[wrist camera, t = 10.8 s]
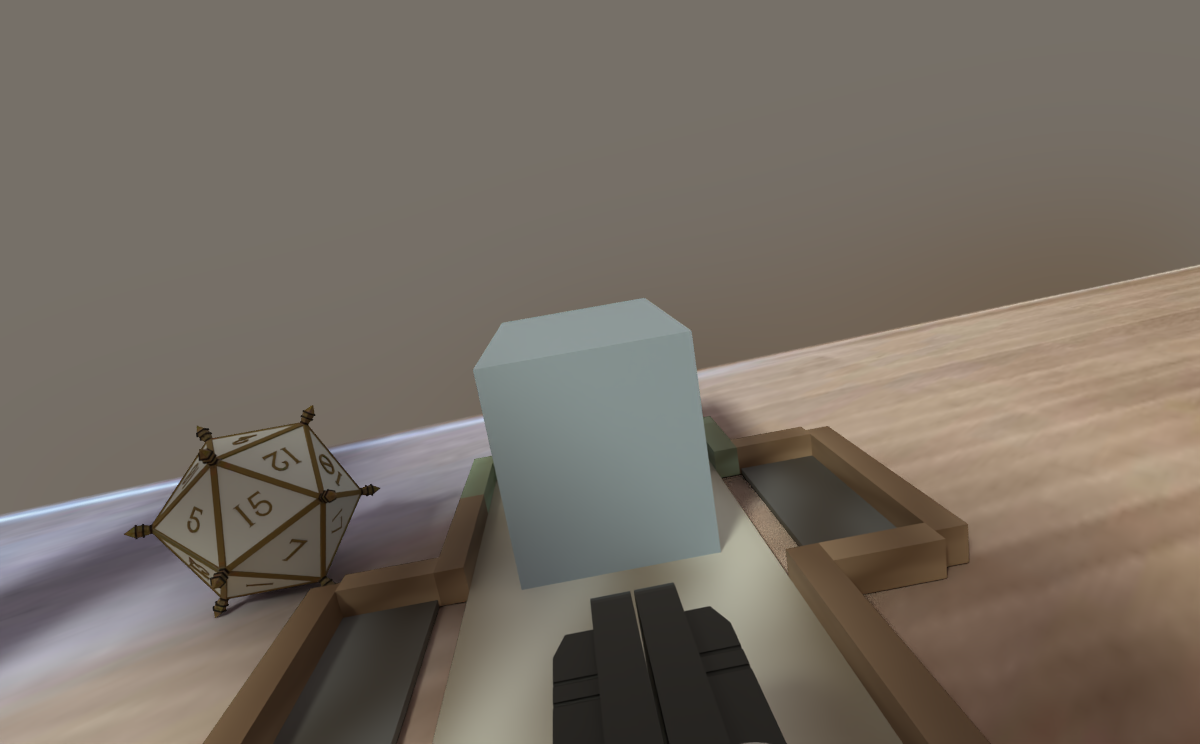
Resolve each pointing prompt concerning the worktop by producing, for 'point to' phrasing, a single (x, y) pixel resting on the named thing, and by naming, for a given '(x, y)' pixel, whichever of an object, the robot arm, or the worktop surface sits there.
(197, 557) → the game die
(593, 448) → the brick
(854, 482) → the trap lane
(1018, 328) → the worktop surface
